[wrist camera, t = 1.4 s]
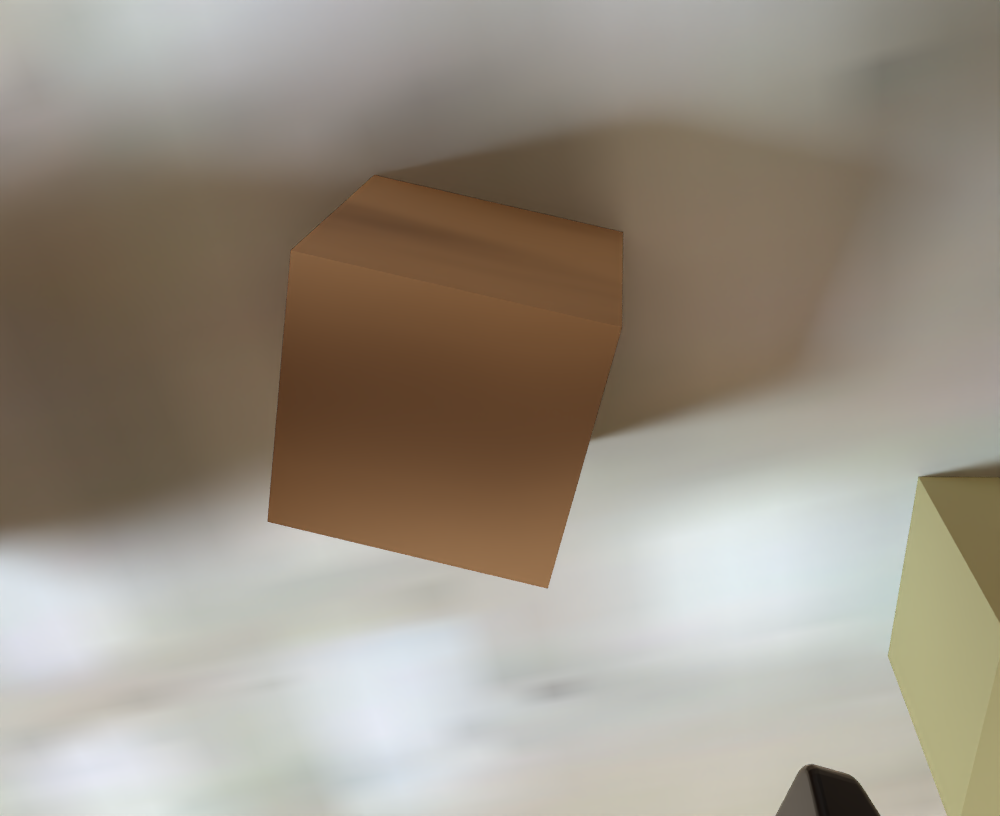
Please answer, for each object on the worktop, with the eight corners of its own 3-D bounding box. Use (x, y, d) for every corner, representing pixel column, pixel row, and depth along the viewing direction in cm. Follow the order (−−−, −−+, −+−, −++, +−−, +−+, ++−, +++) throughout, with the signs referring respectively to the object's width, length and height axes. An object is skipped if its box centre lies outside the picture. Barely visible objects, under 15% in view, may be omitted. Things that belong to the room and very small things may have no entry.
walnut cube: (565, 445, 20) (548, 588, 15) (347, 394, 20) (267, 521, 15) (623, 230, 17) (622, 327, 13) (375, 173, 17) (290, 250, 13)
